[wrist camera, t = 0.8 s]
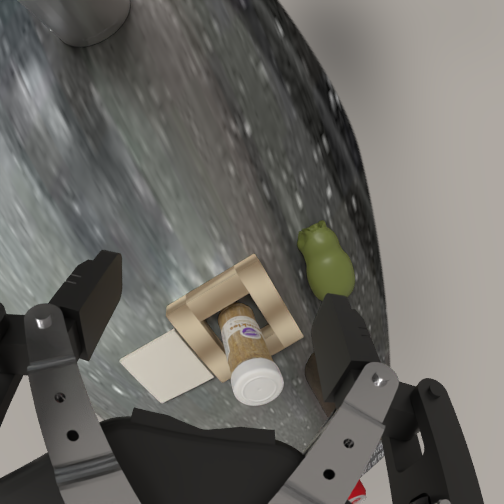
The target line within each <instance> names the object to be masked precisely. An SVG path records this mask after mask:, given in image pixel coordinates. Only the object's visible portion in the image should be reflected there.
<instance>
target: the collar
mask: <svg viewBox="0 0 504 504" xmlns="http://www.w3.org/2000/svg"><path fill="white" fill-rule="evenodd" d="M249 293H250V295H251V296H252V298H253V300H254V301H255V303H256V304H257V306H258V307H259V309H260V310H261V312H262V314H263V315H264V317H265V318H266V320H267V321H268V323H269V324H268V325H266V326H265V327H263V328H261V329H260V330H261V332H262V335H263V337H264V339H265V343H266V345H267V348H268V350H269V352H270V355H271V356H272V355H274V354H276V353H277V352H279V351H281V350H282V349H284V348H286V347H287V346H289V345H291V344H292V343H294V342H296V341H297V340H299V339H301V338H302V337H304V336H303V334H302V333H301V331H300V329H299V328H298V326H297V324H296V322H295V321H294V319H293V317H292V316H291V314H290V312H289V311H288V309H287V307H286V305H285V304H284V302H283V300H282V299H281V297H280V295H279V293H278V292H277V290H276V288H275V287H274V285H273V283H272V282H271V280H270V278H269V276H268V275H267V273H266V271H265V270H264V268H263V266H262V264H261V263H260V261H259V260H258V258H257V257H256V255H255V254H252V255H251V256H249V257H247V258H246V259H244V260H242V261H241V262H239V263H237V264H236V265H234V266H233V267H231V268H229V269H228V270H226V271H224V272H223V273H221V274H219V275H218V276H216V277H214V278H213V279H211V280H209V281H208V282H206V283H204V284H203V285H201V286H199V287H198V288H196V289H194V290H193V291H191V292H189V293H188V294H186V295H184V296H183V297H181V298H179V299H178V300H176V301H174V302H173V303H171V304H169V305H168V306H167V309H166V317H167V318H168V319H169V321H170V322H171V323H172V324H173V326H174V327H175V328H176V329H177V331H178V332H179V333H180V334H181V336H182V337H183V338H184V339H185V340H186V342H187V343H188V344H189V345H190V346H191V348H192V349H193V350H194V351H195V352H196V354H197V355H198V356H199V357H200V358H201V359H202V361H203V362H204V363H205V364H206V365H207V366H208V368H209V369H210V370H211V371H212V372H213V373H214V374H215V375H216V377H217V378H218V379H219V380H220V381H221V382H222V383H223V382H225V381H227V380H229V379H231V372H230V367H229V365H228V362H227V357H226V353H225V348H224V345H223V343H222V342H221V341H220V339H219V338H218V337H217V336H216V334H215V333H214V332H213V330H212V329H211V328H210V326H209V325H208V324H207V322H206V321H205V320H204V319H206V318H208V317H210V316H211V315H213V314H215V313H217V312H218V311H220V310H222V309H223V308H225V307H227V306H228V305H230V304H232V303H233V302H235V301H237V300H239V299H240V298H242V297H244V296H245V295H247V294H249Z"/></svg>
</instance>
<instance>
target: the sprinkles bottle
mask: <svg viewBox="0 0 504 504" xmlns="http://www.w3.org/2000/svg"><path fill="white" fill-rule="evenodd" d="M218 324H219V327H220V329H221V335H222V340H223V344H224V348H225V353H226V357H227V362H228V365H229V367H230V372H231V384H232V389H233V392H234V395H235V397H236V398H237V399H238V400H239V401H240V402H242V403H244V404H246V405H251V406H258V405H263V404H266V403H269V402H271V401H272V400H274V399H275V398H276V397H277V396H278V395H279V394H280V393H281V391H282V389H283V385H284V381H283V377H282V375H281V372H280V370H279V368H278V366H277V365H276V364H275V363H274V362H273V359H272V357H271V355H270V352H269V350H268V348H267V345H266V343H265V339H264V337H263V335H262V332H261V330H260V328H259V325H258V324H257V322H256V320H255V318H254V314H253V311H252V309H251V308H250V307H248V306H247V305H245V304H242V303H232V304H230V305H228V306H227V307H225V308H223V309H222V311H221V312H220V314H219V317H218Z"/></svg>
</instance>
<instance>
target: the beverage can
mask: <svg viewBox="0 0 504 504" xmlns="http://www.w3.org/2000/svg"><path fill="white" fill-rule="evenodd" d="M364 499H366V490H365V488H364V486H363V485H362V483H361V481H360V479H359V480H358V482H357V484H356V486H355V487H354V489H353V491H352V492H351V494H350V496H349V497H348V500H349V501H350V502H351V503H352V504H360V503H361V502H363V501H364Z"/></svg>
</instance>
